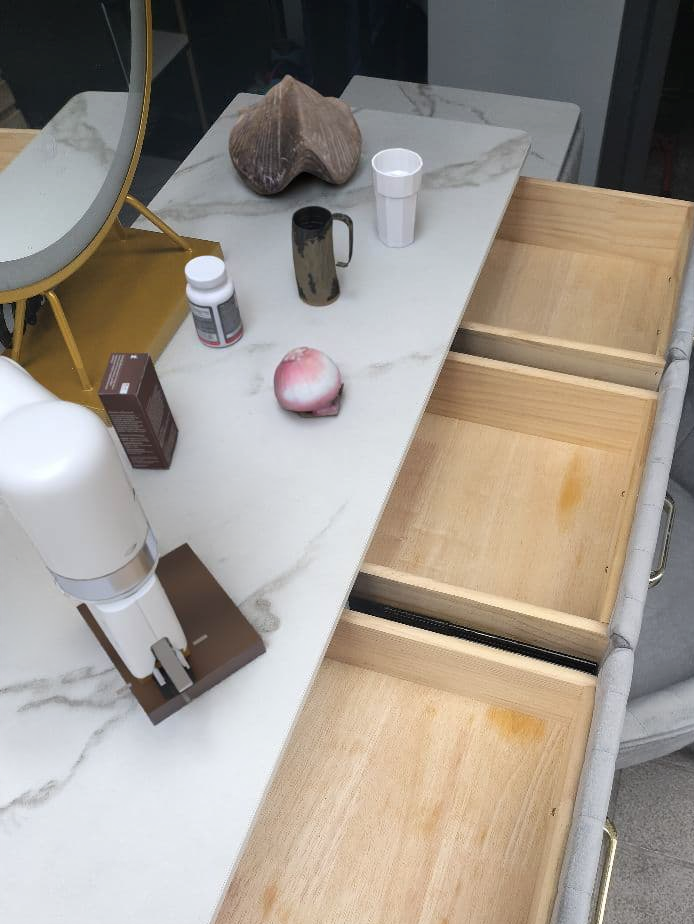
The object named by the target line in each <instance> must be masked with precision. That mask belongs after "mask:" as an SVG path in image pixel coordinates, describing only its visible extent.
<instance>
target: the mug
mask: <svg viewBox="0 0 694 924" xmlns="http://www.w3.org/2000/svg"><path fill="white" fill-rule="evenodd" d="M334 220H335V221H340V222H343V223H344V224H345V225H346V226H347V228H348V261H347V262H344V261H337V262H336V258H335V250H334V249H335V248H334V234H333V231H334V230H333V229H334ZM291 249H292V261H293V269H294V277H295V283H296V287H297V291H298V292H297V293H298V297H299V299H300V300H301V302H303V303H304V304H306V305H309V306H312V307H325V306H329V305H332V304H333V303H334V302H336V301H337V300H338V299H339V298H340V296H341V287H340V283H339V282H340V281H339V278H338V273H337V268H338V267H339V268H343V269H344V268H347V267H349V264H350V263H351V261H352V258H353V253H354V252H353V251H354V222H353V219H352V217H350V216H349V215H347V214H345V213H342V212H335V213H332V212H331V211H330V210H329V209H328V208H325V207H322V206H319V205H308V206H303V207H301V208H299V209H297V210H296V211H295V212H293V214H292V216H291Z"/></svg>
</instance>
